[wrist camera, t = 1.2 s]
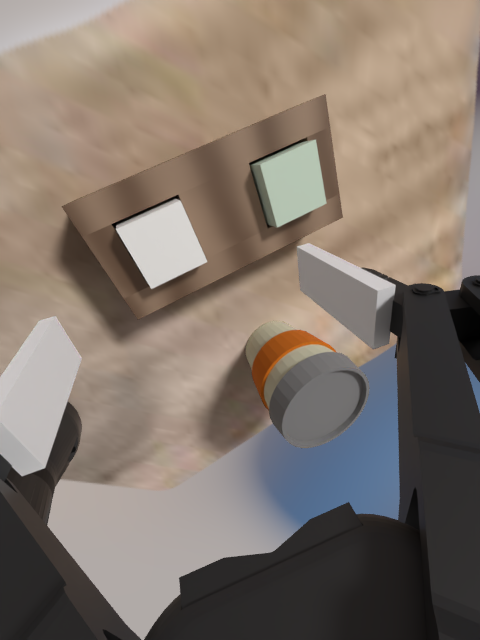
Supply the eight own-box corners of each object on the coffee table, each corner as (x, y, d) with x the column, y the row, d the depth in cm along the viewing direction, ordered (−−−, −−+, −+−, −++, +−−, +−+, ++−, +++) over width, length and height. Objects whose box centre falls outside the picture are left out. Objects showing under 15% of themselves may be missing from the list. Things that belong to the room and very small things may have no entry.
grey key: (147, 274, 31) (151, 289, 27) (116, 221, 28) (115, 229, 24) (196, 250, 32) (207, 261, 28) (171, 196, 29) (180, 200, 24)
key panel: (135, 299, 35) (137, 319, 30) (72, 201, 28) (61, 206, 23) (313, 212, 38) (342, 217, 33) (293, 107, 32) (325, 94, 27)
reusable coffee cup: (220, 340, 42) (262, 411, 29) (290, 295, 43) (360, 344, 30) (254, 390, 49) (300, 464, 36) (313, 349, 49) (378, 408, 37)
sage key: (257, 221, 33) (277, 227, 29) (240, 166, 30) (260, 164, 26) (301, 200, 34) (326, 203, 30) (289, 144, 31) (315, 139, 26)
